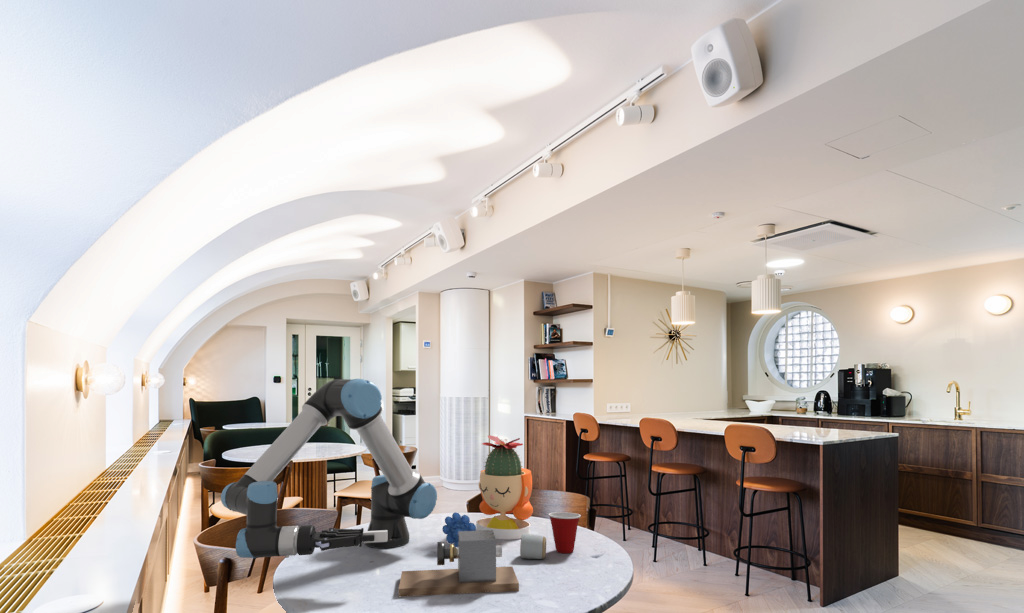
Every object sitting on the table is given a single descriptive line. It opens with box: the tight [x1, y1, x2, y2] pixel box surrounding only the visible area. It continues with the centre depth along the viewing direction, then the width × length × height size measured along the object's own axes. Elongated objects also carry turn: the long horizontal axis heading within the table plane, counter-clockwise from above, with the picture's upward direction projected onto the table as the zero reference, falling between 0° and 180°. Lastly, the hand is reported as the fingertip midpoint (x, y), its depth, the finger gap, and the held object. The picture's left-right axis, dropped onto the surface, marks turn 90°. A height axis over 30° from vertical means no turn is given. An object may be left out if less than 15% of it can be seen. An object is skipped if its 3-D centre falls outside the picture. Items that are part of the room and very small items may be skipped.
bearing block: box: [457, 530, 497, 583], centre depth 164 cm, size 10×10×11 cm
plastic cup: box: [548, 511, 582, 554], centre depth 194 cm, size 11×11×12 cm
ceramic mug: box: [519, 533, 547, 560], centre depth 188 cm, size 10×8×7 cm
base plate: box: [398, 566, 520, 598], centre depth 163 cm, size 32×14×2 cm, turn 97°
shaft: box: [436, 541, 503, 566], centre depth 164 cm, size 18×6×6 cm, turn 97°
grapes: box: [442, 511, 476, 547], centre depth 195 cm, size 12×7×12 cm, turn 88°
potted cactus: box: [475, 435, 534, 540], centre depth 220 cm, size 22×22×35 cm
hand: (387, 535), depth 161 cm, fingers closed
